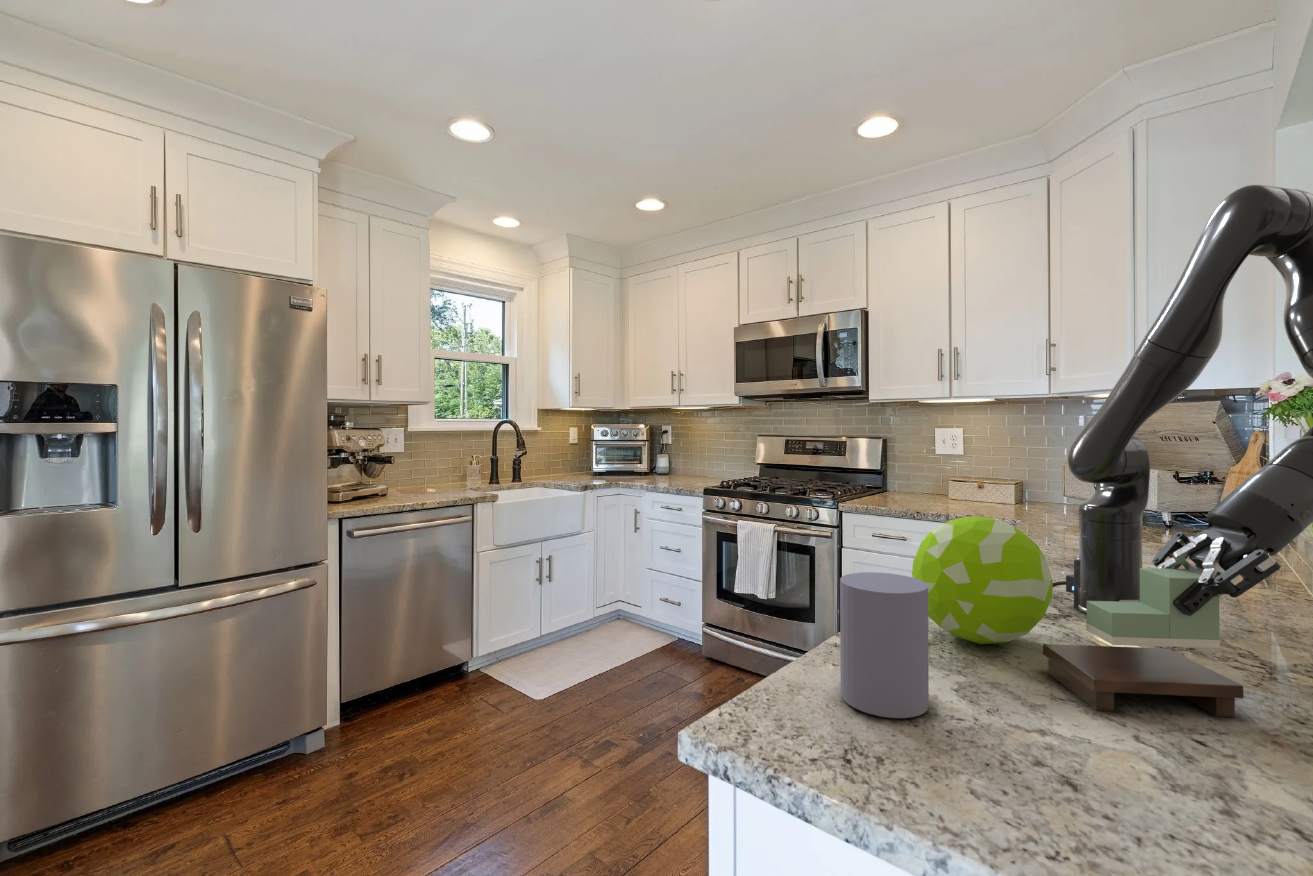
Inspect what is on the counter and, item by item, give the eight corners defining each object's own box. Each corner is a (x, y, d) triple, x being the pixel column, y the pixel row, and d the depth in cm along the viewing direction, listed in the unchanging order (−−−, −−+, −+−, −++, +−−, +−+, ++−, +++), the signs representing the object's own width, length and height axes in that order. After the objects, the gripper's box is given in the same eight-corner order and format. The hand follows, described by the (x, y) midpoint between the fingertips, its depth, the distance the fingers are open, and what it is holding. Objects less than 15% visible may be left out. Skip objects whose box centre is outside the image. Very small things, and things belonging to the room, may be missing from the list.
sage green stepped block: (1185, 633, 77) (1185, 568, 77) (1220, 648, 72) (1220, 578, 72) (1086, 630, 79) (1085, 566, 79) (1112, 645, 73) (1112, 576, 73)
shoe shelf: (1094, 712, 71) (1094, 679, 71) (1042, 672, 83) (1042, 643, 82) (1243, 719, 69) (1243, 685, 69) (1168, 677, 80) (1168, 648, 80)
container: (887, 728, 67) (887, 597, 67) (823, 693, 76) (822, 578, 76) (947, 708, 72) (947, 586, 72) (880, 677, 81) (879, 569, 81)
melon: (1074, 635, 97) (1074, 514, 97) (1025, 678, 80) (1025, 532, 80) (948, 609, 112) (948, 504, 112) (885, 640, 95) (885, 517, 95)
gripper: (1198, 483, 81) (1104, 569, 82) (1297, 494, 67) (1181, 597, 68) (1242, 522, 80) (1146, 608, 82) (1351, 541, 66) (1233, 644, 68)
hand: (1162, 602), depth 75 cm, fingers closed on sage green stepped block, 5 cm apart
